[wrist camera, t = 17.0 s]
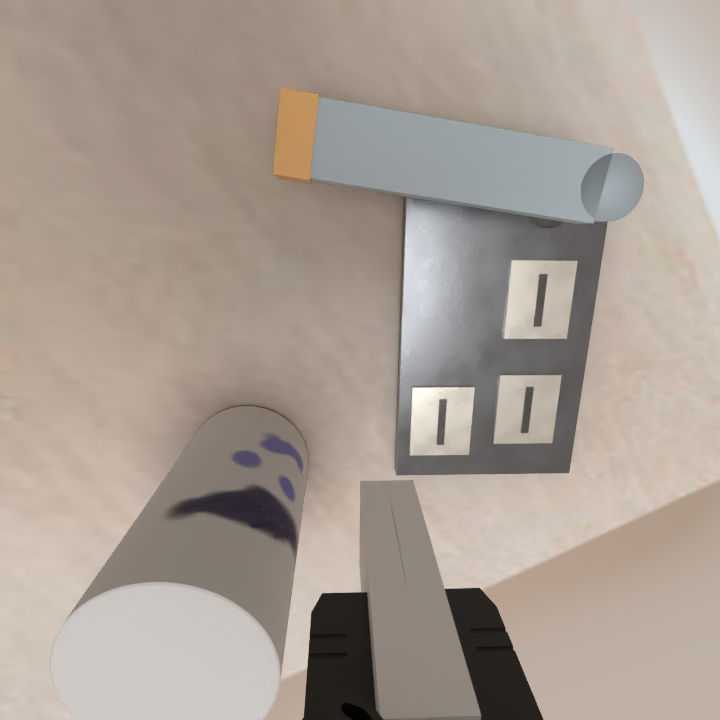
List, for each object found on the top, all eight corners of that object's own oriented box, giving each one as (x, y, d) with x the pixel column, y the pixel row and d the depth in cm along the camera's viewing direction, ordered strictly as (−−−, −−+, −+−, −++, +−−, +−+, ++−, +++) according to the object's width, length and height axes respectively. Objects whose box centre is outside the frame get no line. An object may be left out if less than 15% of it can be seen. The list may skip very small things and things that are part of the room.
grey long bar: (630, 158, 27) (655, 152, 25) (610, 230, 28) (632, 231, 26) (285, 99, 26) (280, 87, 24) (278, 178, 27) (272, 174, 25)
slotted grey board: (405, 174, 34) (408, 171, 32) (605, 177, 34) (617, 175, 33) (394, 468, 40) (397, 477, 39) (562, 466, 41) (571, 475, 39)
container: (326, 431, 39) (314, 629, 20) (283, 524, 41) (234, 783, 22) (214, 387, 37) (81, 554, 18) (175, 486, 40) (22, 728, 21)
